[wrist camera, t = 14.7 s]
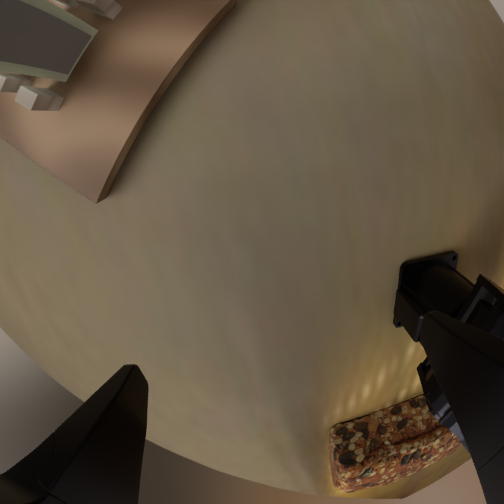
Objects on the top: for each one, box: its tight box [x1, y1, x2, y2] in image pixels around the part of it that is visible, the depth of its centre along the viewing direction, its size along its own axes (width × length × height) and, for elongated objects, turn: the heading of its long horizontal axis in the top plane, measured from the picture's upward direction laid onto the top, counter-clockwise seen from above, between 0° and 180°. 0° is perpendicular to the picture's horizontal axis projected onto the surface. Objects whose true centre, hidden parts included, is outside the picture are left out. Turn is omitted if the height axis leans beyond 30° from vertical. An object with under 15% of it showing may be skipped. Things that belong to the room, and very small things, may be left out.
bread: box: [329, 395, 461, 493], centre depth 26 cm, size 19×11×10 cm, turn 100°
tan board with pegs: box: [0, 0, 236, 204], centre depth 10 cm, size 16×18×4 cm
